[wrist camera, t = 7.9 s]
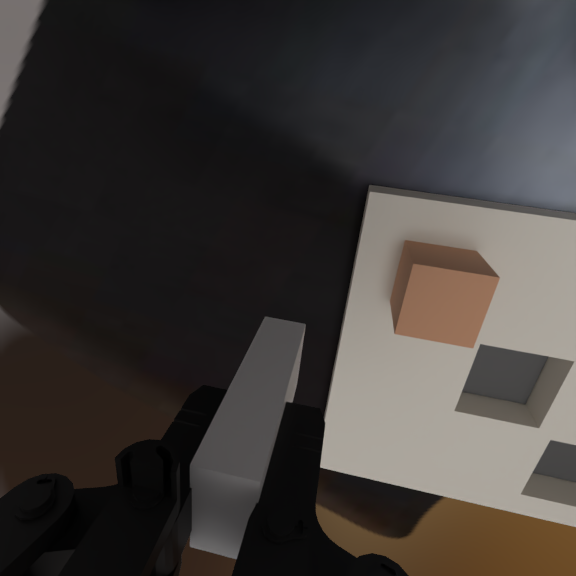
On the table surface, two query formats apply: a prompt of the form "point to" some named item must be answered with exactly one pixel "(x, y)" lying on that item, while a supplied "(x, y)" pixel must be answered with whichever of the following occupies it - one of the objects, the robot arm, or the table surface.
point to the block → (441, 293)
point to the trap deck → (462, 362)
